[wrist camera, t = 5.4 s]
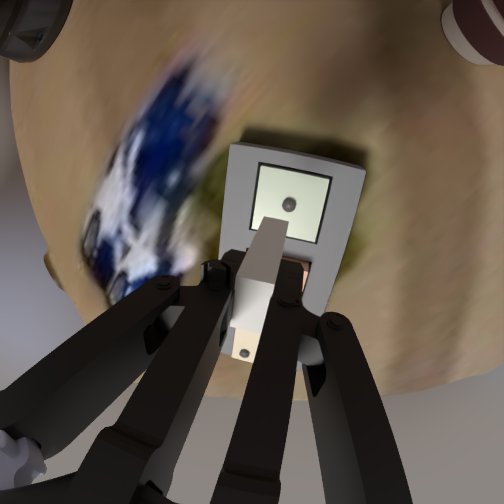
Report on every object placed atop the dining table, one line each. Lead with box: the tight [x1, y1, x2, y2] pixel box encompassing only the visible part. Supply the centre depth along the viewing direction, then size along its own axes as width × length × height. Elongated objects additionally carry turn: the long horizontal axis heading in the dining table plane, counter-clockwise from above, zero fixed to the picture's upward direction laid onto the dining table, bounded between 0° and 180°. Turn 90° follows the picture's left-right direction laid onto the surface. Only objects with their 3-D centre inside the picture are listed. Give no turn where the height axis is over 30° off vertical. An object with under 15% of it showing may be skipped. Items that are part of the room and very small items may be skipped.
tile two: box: [232, 328, 261, 363], centre depth 32 cm, size 6×6×3 cm
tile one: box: [252, 163, 329, 242], centre depth 25 cm, size 6×6×3 cm
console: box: [218, 142, 366, 371], centre depth 30 cm, size 12×26×3 cm, turn 172°
